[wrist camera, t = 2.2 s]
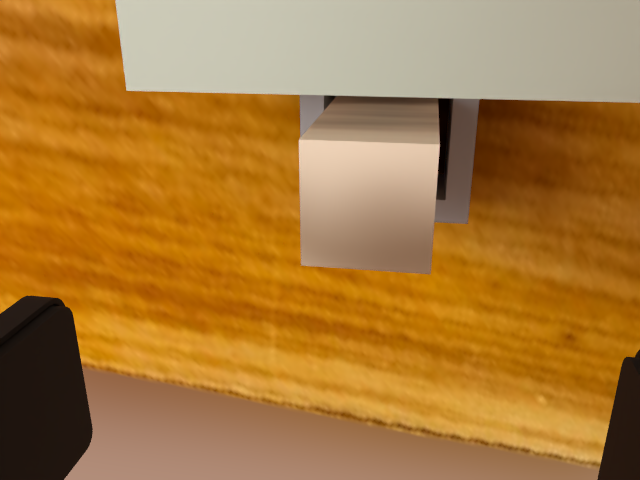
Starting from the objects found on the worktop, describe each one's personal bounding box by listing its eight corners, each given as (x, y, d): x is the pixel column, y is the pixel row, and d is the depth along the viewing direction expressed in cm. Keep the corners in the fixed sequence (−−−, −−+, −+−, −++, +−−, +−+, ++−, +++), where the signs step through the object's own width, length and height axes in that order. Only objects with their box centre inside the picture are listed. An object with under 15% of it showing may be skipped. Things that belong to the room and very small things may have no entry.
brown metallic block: (350, 80, 29) (299, 139, 18) (437, 82, 28) (440, 144, 17) (349, 163, 30) (301, 265, 19) (431, 167, 29) (430, 274, 19)
